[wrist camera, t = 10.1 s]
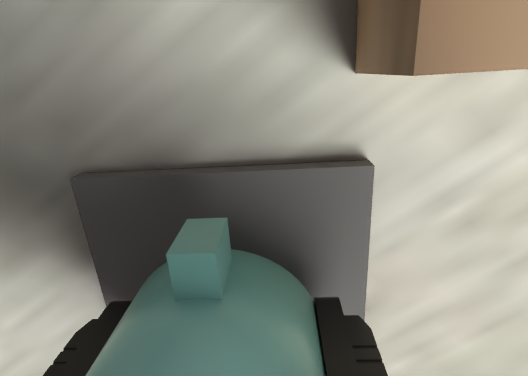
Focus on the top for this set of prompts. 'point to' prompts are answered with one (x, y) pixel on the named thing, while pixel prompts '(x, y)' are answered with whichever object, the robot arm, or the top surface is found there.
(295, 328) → the teal rounded tabbed figurine
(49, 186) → the top surface
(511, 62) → the post block
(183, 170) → the coaster
